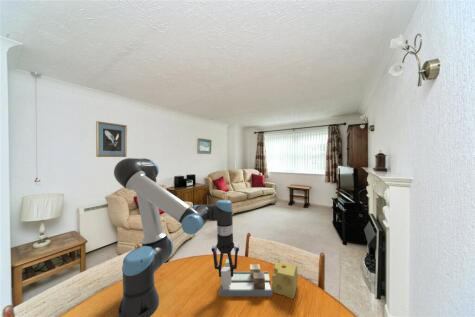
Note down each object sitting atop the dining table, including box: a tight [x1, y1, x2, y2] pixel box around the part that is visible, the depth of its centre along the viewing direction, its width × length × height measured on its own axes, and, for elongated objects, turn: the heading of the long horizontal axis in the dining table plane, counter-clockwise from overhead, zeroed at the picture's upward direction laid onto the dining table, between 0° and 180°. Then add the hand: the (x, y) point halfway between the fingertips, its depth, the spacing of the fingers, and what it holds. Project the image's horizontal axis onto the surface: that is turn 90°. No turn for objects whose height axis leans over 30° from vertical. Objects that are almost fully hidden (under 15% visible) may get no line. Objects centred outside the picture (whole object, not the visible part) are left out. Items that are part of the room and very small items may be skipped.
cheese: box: [271, 260, 299, 299], centre depth 85 cm, size 10×11×10 cm
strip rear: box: [224, 258, 271, 281], centre depth 91 cm, size 22×5×9 cm, turn 88°
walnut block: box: [253, 271, 265, 289], centre depth 84 cm, size 5×4×5 cm
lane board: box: [218, 270, 273, 297], centre depth 88 cm, size 24×14×3 cm, turn 88°
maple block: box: [249, 263, 261, 280], centre depth 91 cm, size 5×4×5 cm
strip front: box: [222, 266, 271, 289], centre depth 84 cm, size 22×5×9 cm, turn 88°
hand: (226, 283), depth 85 cm, fingers closed on strip front, 3 cm apart
